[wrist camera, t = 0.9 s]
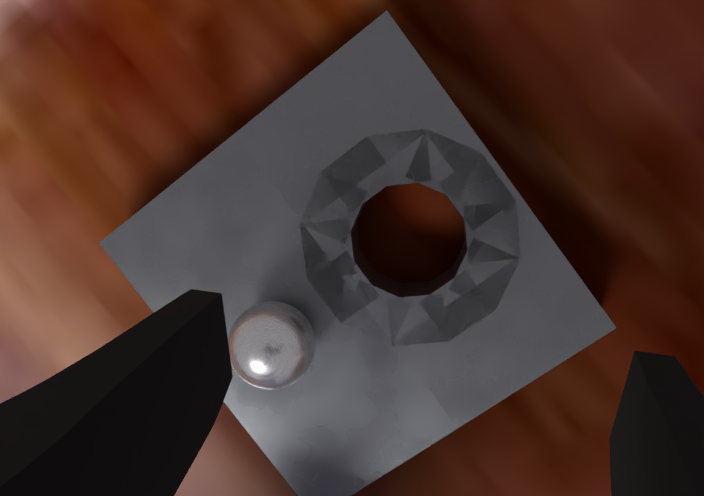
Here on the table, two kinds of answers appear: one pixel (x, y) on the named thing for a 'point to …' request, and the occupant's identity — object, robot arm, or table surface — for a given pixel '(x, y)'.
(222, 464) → the table surface
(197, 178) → the hole plate
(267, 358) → the steel ball
